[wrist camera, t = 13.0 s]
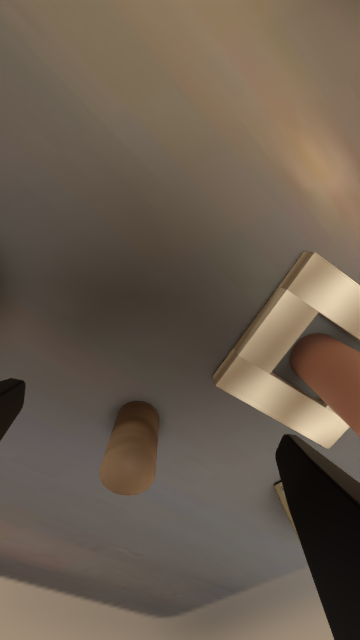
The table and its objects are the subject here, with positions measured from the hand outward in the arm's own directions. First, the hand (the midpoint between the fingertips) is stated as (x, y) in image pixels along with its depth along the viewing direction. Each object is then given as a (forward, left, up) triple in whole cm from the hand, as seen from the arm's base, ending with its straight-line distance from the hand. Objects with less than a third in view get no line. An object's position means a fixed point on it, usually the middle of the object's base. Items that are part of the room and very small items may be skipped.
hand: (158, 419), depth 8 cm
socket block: (+13, +4, -13) cm, 19 cm away
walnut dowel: (+3, -10, -13) cm, 17 cm away
